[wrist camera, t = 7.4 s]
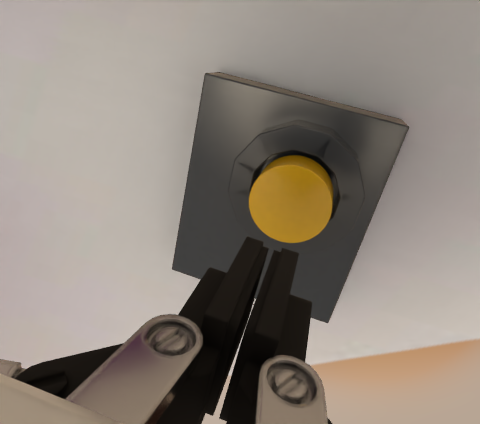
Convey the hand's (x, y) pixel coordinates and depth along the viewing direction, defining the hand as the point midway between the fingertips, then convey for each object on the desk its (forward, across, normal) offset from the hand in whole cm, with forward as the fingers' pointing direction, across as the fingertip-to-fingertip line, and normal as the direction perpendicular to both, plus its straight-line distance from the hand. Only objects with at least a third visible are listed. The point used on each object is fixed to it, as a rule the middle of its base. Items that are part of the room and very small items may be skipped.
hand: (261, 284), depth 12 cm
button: (+9, 0, 0) cm, 9 cm away
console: (+13, +1, +2) cm, 13 cm away
